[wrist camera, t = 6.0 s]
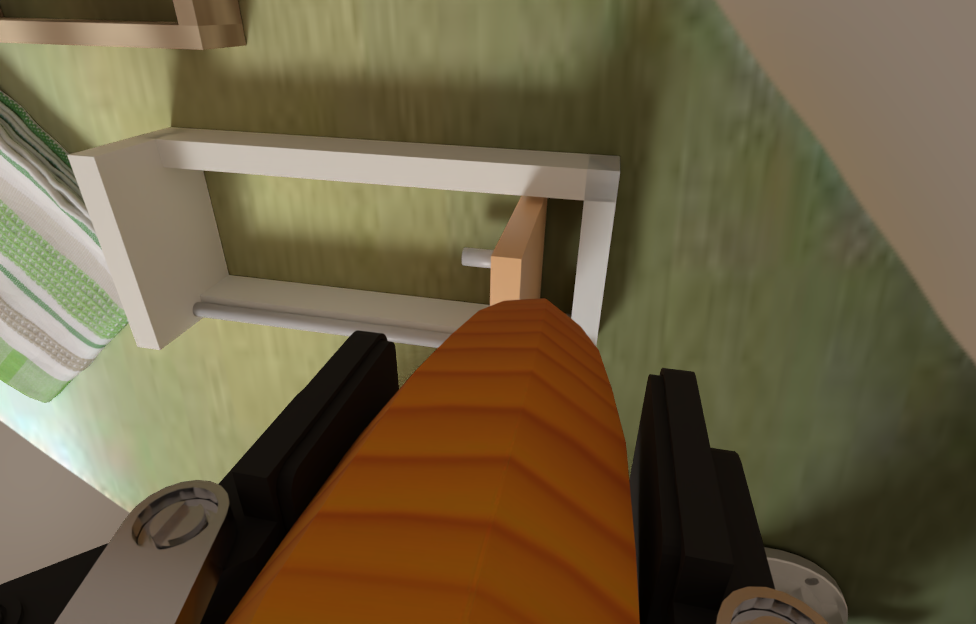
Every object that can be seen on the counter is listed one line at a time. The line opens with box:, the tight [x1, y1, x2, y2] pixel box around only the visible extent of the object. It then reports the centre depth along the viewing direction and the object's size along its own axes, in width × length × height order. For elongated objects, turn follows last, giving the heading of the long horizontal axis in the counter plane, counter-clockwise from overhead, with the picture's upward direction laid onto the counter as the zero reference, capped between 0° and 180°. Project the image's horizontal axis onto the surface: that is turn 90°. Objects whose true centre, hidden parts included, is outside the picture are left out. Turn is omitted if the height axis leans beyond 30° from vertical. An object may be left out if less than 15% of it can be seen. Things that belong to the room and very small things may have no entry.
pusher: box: [462, 196, 547, 306], centre depth 27 cm, size 4×7×9 cm, turn 179°
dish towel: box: [0, 90, 129, 403], centre depth 38 cm, size 17×23×4 cm
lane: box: [67, 127, 620, 350], centre depth 29 cm, size 26×11×7 cm, turn 89°
